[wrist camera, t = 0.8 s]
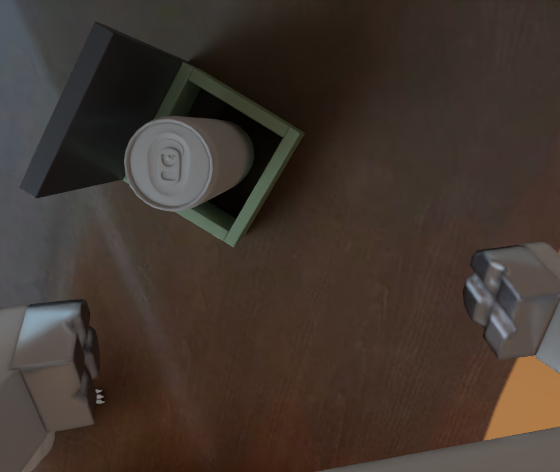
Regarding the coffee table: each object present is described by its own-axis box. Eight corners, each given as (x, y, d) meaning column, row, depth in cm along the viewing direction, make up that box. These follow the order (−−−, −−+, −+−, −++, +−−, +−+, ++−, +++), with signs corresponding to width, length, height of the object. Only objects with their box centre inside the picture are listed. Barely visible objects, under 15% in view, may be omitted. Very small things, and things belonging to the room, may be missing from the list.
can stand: (305, 132, 37) (282, 134, 23) (244, 235, 39) (190, 293, 25) (187, 61, 37) (94, 20, 23) (132, 167, 39) (17, 188, 25)
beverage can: (258, 122, 37) (218, 118, 25) (254, 190, 38) (213, 217, 26) (190, 117, 38) (121, 112, 26) (188, 185, 39) (120, 209, 27)
